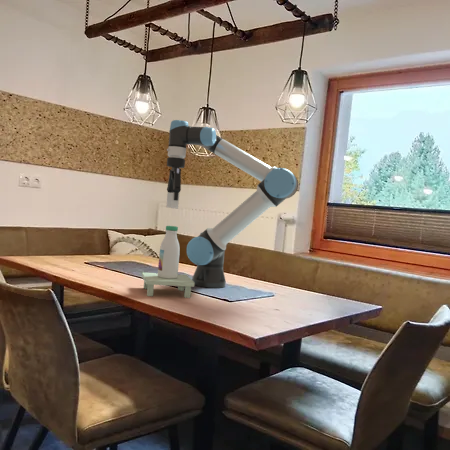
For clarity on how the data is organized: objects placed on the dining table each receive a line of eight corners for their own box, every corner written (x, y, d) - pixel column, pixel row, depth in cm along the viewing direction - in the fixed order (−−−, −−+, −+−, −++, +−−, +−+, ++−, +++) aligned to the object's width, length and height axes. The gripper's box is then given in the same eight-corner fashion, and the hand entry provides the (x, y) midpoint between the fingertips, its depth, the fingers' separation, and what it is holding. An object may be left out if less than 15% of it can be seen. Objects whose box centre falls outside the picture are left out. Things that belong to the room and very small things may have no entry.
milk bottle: (179, 277, 186) (184, 226, 186) (173, 280, 179) (178, 227, 178) (161, 274, 188) (165, 224, 187) (154, 277, 180) (159, 225, 180)
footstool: (184, 289, 195) (186, 274, 195) (193, 298, 177) (194, 282, 177) (140, 287, 190) (142, 272, 190) (144, 296, 173) (146, 280, 172)
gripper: (163, 158, 210) (159, 206, 211) (172, 154, 186) (167, 208, 187) (179, 160, 212) (175, 207, 213) (190, 156, 188) (186, 209, 189)
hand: (171, 208), depth 200 cm, fingers open, 13 cm apart
